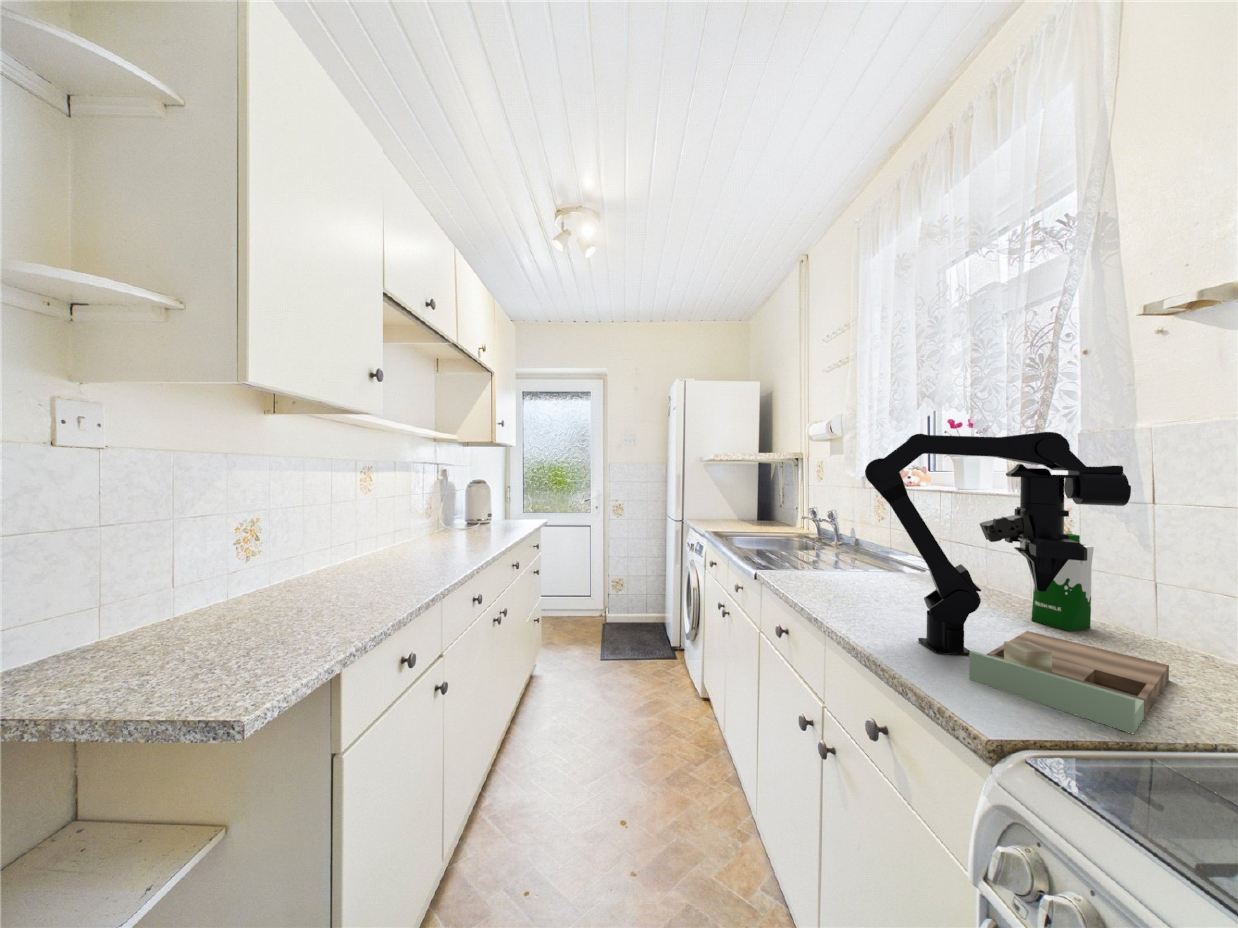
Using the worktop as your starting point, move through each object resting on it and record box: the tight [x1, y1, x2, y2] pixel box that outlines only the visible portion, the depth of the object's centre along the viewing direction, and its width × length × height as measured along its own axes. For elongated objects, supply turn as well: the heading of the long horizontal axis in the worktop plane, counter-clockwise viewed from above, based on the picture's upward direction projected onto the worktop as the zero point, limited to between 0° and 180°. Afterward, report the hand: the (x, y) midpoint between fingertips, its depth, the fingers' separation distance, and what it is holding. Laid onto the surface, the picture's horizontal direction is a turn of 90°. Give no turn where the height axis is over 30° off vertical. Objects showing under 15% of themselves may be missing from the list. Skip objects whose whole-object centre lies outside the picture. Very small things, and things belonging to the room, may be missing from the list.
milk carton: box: [1031, 532, 1095, 632], centre depth 101 cm, size 9×9×20 cm
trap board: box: [985, 630, 1170, 718], centre depth 76 cm, size 21×18×2 cm
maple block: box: [1003, 640, 1052, 674], centre depth 72 cm, size 4×4×4 cm
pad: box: [968, 650, 1145, 734], centre depth 69 cm, size 7×18×4 cm, turn 33°
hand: (1040, 590), depth 80 cm, fingers closed
